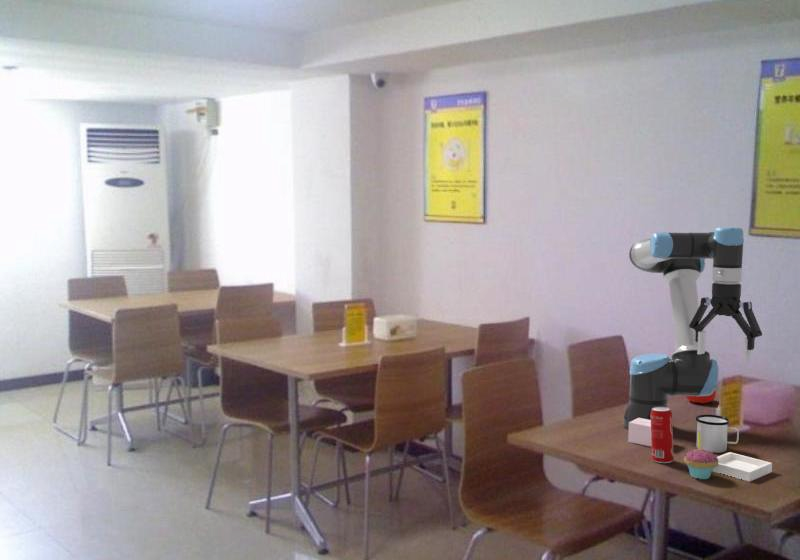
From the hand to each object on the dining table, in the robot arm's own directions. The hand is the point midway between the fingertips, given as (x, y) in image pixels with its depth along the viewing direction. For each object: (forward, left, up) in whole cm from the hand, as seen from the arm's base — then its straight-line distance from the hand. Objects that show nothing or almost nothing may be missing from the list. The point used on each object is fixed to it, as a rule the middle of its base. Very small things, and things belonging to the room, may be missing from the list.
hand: (723, 357), depth 225 cm
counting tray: (+10, -7, -29) cm, 31 cm away
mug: (-4, +6, -29) cm, 30 cm away
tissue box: (-20, -4, -29) cm, 35 cm away
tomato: (-37, +53, -29) cm, 71 cm away
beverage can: (-8, -16, -29) cm, 34 cm away
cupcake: (+6, -19, -29) cm, 35 cm away
